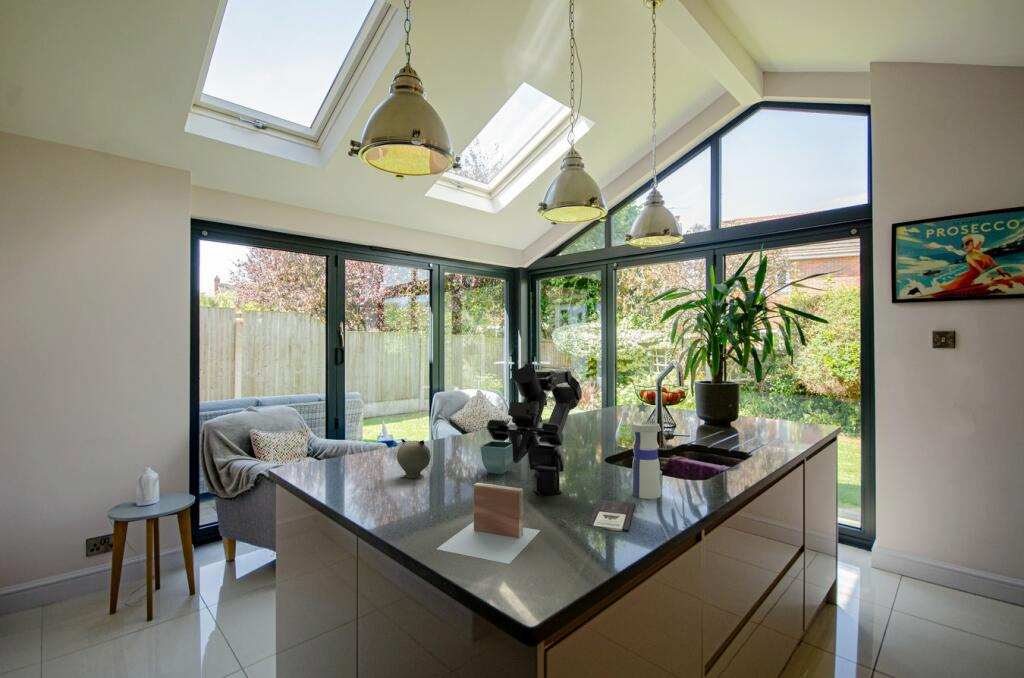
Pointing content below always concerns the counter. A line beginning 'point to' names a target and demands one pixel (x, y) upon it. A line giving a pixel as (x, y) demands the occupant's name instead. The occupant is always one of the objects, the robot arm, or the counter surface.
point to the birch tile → (498, 510)
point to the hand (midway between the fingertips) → (515, 462)
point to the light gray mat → (488, 544)
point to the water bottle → (646, 459)
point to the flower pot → (497, 456)
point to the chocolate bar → (612, 515)
